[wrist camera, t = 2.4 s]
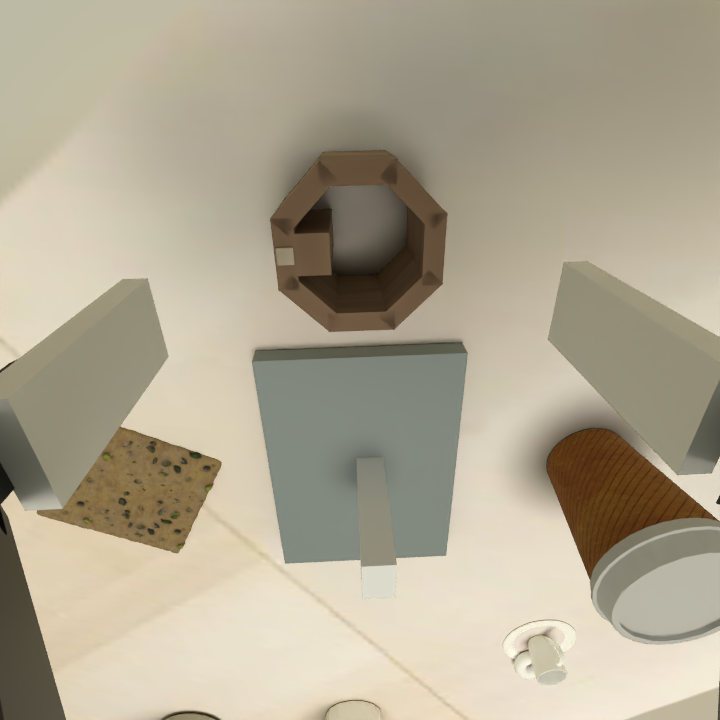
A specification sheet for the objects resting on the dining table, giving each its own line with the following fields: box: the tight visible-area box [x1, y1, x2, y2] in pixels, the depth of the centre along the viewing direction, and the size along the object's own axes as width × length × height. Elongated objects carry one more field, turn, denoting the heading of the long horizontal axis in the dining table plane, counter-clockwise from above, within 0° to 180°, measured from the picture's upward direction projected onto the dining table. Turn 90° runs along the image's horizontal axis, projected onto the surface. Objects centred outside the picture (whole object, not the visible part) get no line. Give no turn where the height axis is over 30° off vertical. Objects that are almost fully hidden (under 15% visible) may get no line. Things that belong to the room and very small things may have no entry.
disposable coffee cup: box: [547, 429, 720, 645], centre depth 30 cm, size 10×10×12 cm
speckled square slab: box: [37, 427, 221, 553], centre depth 35 cm, size 12×12×1 cm
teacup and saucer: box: [503, 620, 576, 686], centre depth 47 cm, size 9×8×4 cm
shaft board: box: [252, 343, 468, 599], centre depth 30 cm, size 14×20×10 cm
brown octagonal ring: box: [270, 150, 447, 332], centre depth 23 cm, size 8×8×6 cm
